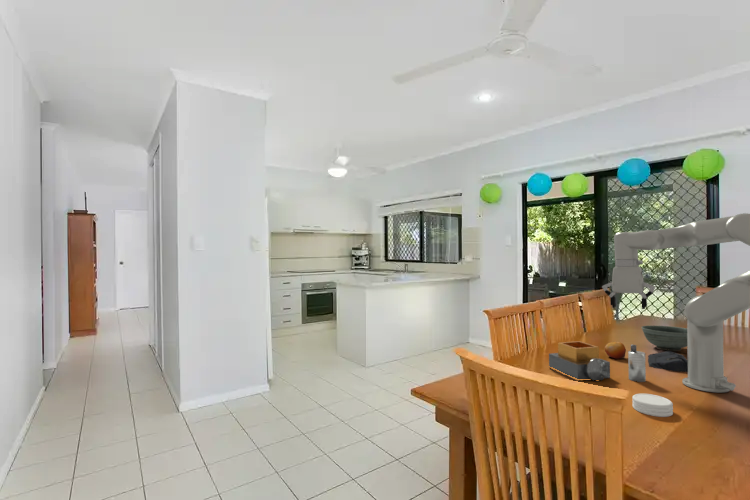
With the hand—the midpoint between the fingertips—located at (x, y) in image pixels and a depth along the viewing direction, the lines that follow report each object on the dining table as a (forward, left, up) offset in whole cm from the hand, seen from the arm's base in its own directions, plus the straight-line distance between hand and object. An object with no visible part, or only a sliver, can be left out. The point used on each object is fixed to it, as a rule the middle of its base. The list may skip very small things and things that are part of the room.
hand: (628, 308), depth 150 cm
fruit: (+19, -13, -26) cm, 34 cm away
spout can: (-7, +3, -25) cm, 26 cm away
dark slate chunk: (+6, -26, -26) cm, 38 cm away
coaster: (-30, +22, -26) cm, 45 cm away
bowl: (+24, -47, -26) cm, 59 cm away
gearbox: (+5, +18, -25) cm, 32 cm away
